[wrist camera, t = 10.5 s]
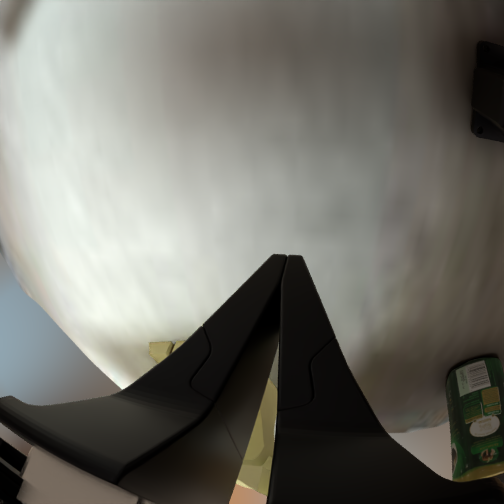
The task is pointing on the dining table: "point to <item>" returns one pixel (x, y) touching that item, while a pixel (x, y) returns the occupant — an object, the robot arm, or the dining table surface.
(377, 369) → the dining table surface
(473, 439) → the coffee jar
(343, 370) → the robot arm
